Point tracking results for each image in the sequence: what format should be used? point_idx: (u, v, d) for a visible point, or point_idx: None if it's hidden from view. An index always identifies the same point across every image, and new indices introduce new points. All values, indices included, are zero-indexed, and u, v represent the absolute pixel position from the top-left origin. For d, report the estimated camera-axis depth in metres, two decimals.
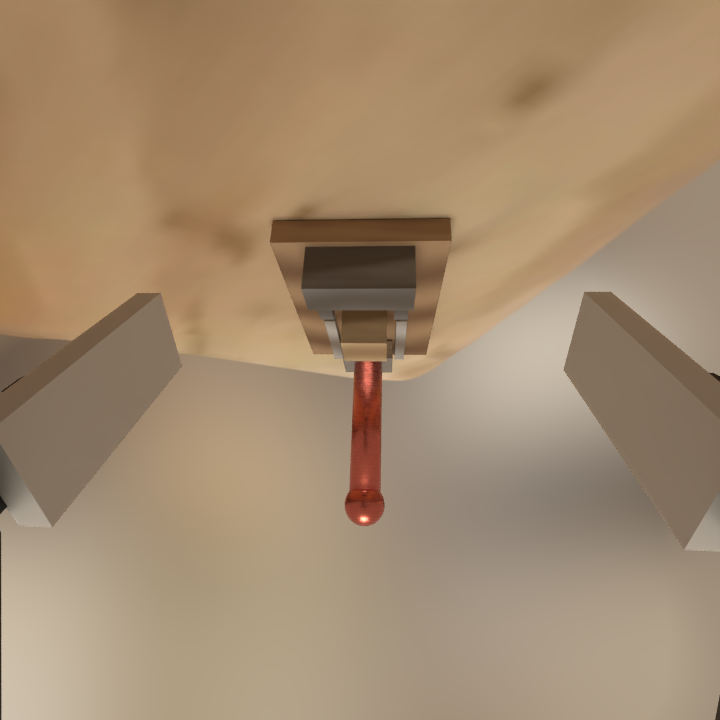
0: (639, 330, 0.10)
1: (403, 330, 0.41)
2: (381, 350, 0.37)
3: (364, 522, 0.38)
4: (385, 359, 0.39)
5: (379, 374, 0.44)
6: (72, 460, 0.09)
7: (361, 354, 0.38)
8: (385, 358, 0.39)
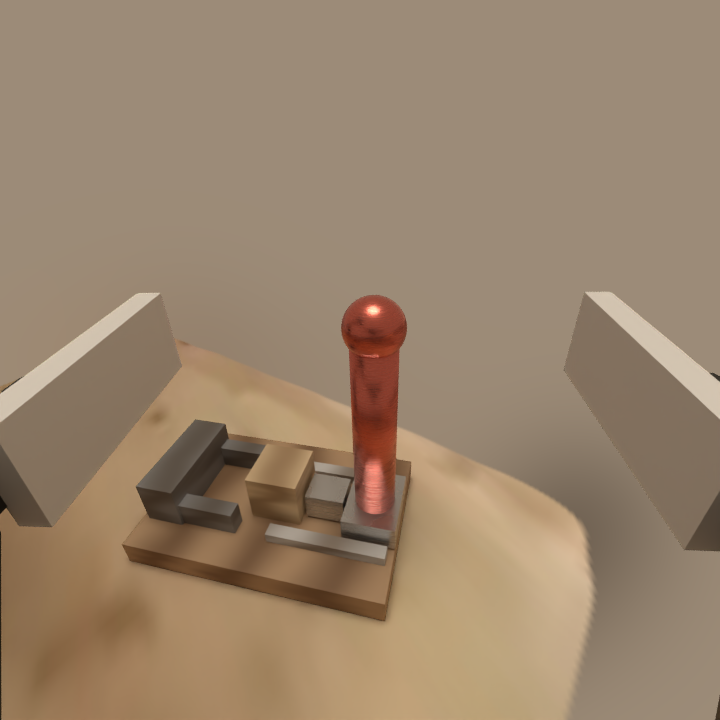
0: (639, 330, 0.10)
1: (320, 465, 0.37)
2: (282, 451, 0.34)
3: (357, 300, 0.24)
4: (307, 451, 0.34)
5: None
6: (72, 460, 0.09)
7: (282, 468, 0.32)
8: (304, 450, 0.34)
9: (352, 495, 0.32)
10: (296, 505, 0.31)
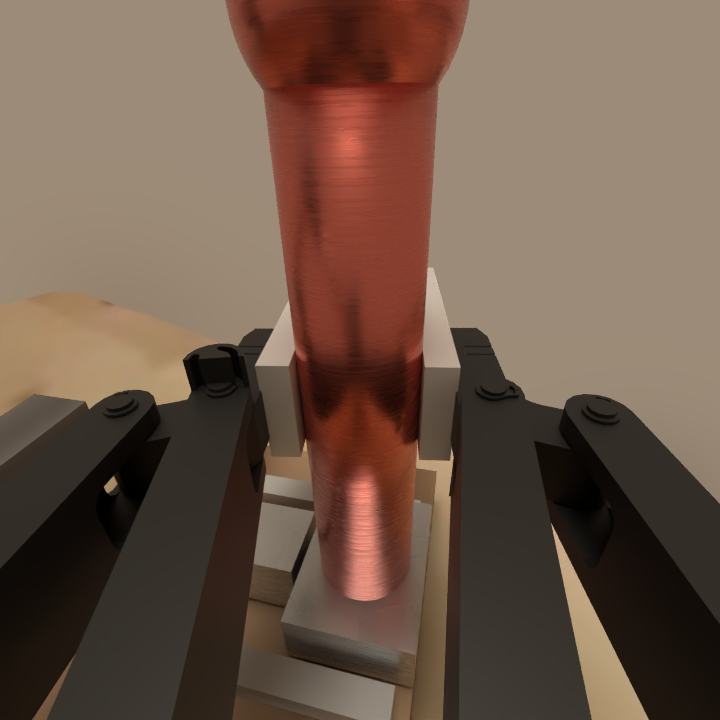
0: (426, 295, 0.12)
1: None
2: None
3: None
4: None
5: None
6: None
7: None
8: None
9: (315, 550, 0.14)
10: None
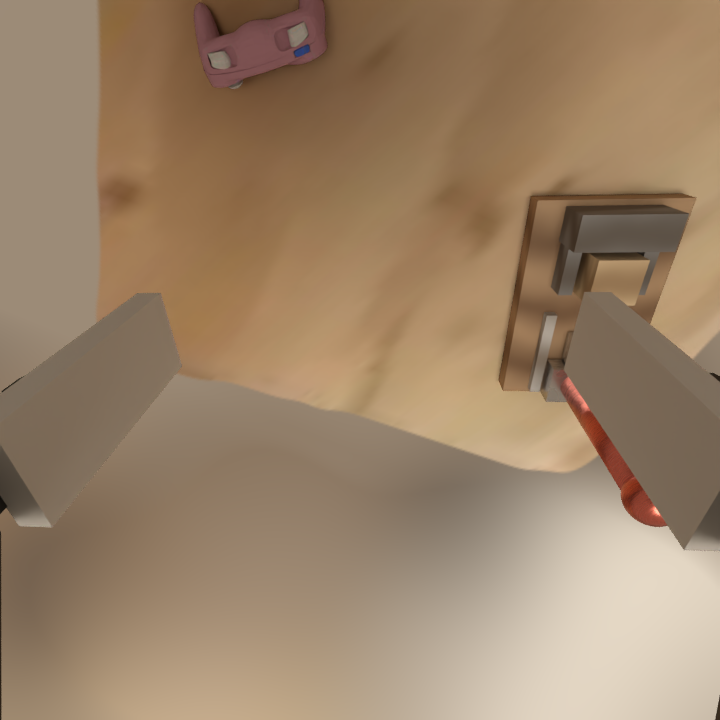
0: (639, 330, 0.10)
1: None
2: (637, 279, 0.35)
3: None
4: (635, 301, 0.36)
5: None
6: (72, 460, 0.09)
7: (612, 287, 0.35)
8: (635, 298, 0.36)
9: None
10: (579, 297, 0.38)
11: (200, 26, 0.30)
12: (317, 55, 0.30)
